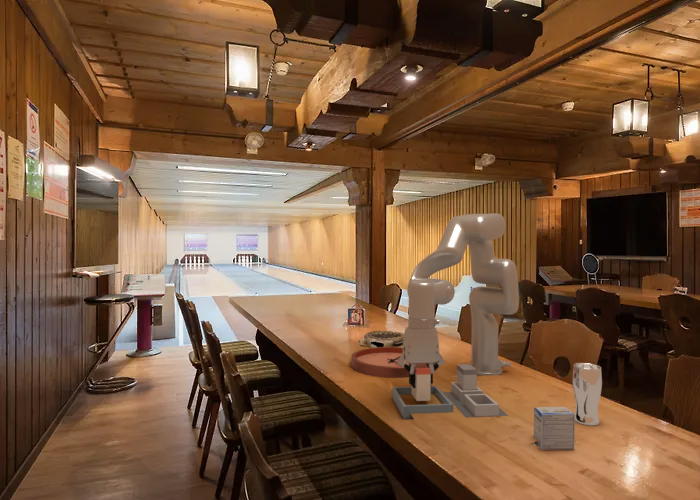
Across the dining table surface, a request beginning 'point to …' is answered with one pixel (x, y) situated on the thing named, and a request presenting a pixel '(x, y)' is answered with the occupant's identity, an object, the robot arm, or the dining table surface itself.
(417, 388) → the block
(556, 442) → the medicine box
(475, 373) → the block
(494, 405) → the board
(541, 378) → the dining table surface
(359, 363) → the clock
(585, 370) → the beer glass
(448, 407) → the grey open square frame
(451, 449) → the dining table surface
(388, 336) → the pie
